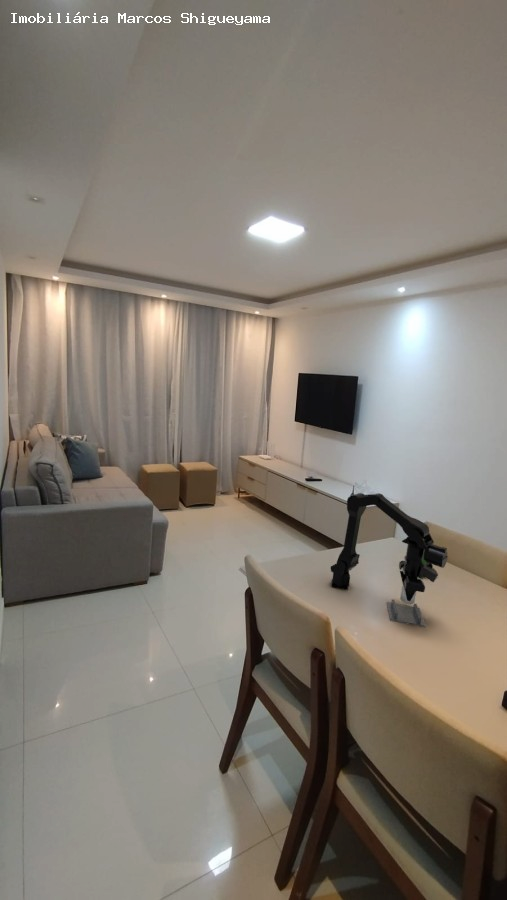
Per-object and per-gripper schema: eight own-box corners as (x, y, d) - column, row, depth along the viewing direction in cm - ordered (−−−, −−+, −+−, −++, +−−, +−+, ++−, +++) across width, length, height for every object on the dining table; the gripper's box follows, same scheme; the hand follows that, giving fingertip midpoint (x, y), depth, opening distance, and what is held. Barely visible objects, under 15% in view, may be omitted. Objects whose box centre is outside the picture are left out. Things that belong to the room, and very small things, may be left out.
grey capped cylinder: (401, 602, 147) (403, 588, 146) (399, 595, 152) (401, 581, 151) (415, 605, 146) (418, 590, 145) (413, 598, 151) (415, 584, 150)
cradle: (389, 620, 145) (390, 614, 145) (386, 603, 157) (387, 597, 157) (425, 627, 143) (426, 620, 143) (419, 609, 155) (420, 603, 154)
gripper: (444, 572, 136) (436, 615, 138) (432, 550, 154) (425, 588, 156) (409, 566, 138) (402, 608, 141) (401, 546, 156) (395, 583, 159)
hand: (407, 597), depth 149 cm, fingers closed on grey capped cylinder, 5 cm apart
